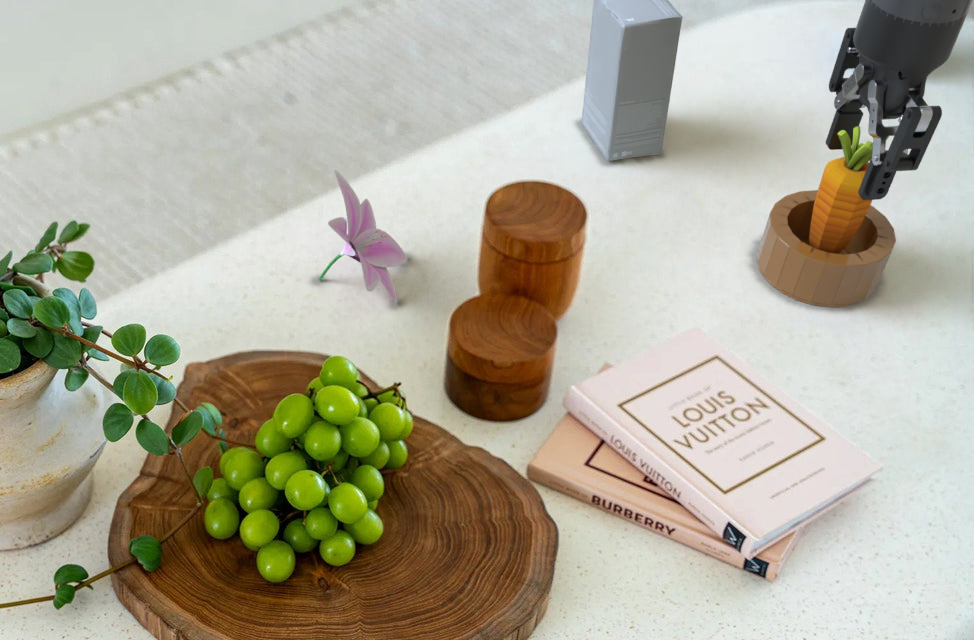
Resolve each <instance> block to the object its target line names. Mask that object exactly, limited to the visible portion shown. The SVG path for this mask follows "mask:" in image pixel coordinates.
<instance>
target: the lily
mask: <svg viewBox="0 0 974 640" xmlns="http://www.w3.org/2000/svg"><path fill="white" fill-rule="evenodd" d="M334 174H335V175H334V176H335V178H336V179H337V180H336V181H337V183H338V186H339V188H340V191H341V194H342V195H341V196H342V198H343V201H344V202H343V203H344V206H345V212H346V218H345V217H343V216H340V217H335V218H333V219H330V220H329V221H328V223H327V225H328V226H329V227H330V228H331V229H332V230H333V231H334V232H335V233H336V235H338V236H339V237H340V238H341V239H342V240H343V241H344V245H343V249H342V250H341V252H339V254H338V255H336V256H335V257H334V258H333V259H332V260H331V261H330V262H329V263H328V264H327V266H326V267H325V269H323V271H322V273H321V274H320V276H319V277H318V278H317V280H318V281H322V279H324V278H325V277H324V276H325V275H326V274H327V273H328V271H329V270H330V268H332V266H333V265H334V264H335V263H336V262H337V261H338V260H339V259H341V258H342V257H343V256H348V257H349V258H351V259H353V260H354V261H356V262H358V263H360V266H361V271H362V275H363V281H364V286H365V288H366V291H367V292H369V293H371V292H373V291H374V290H375V289H376V288H377V286H378V285H379V283H381V284H382V286H383V287H384V289H385V290H386V292H387V293H388V294H389V295H390V297H391V299H392V300H393V302H394V303H395V304H398V298H397V293H396V290H395V286H394V283H393V280H392V276H391V274H390V272H389V269H391V268H395V267H399V266H401V265H403V264H405V263H407V261H408V257H407V255H406V253H405V251H404V250H403V248H402V247H401V245H400V244H398V242H397V241H396V240H395V239H394V237H392V236H391V234H389V233H388V232H386V231H384V230H383V229H381V228H377V222H376V217H375V214H374V211H373V207H372V204H371V202H370V201H369V198H364V200H362V202H360V198H359V197H358V195H357V193H356V192H355V191H354V189H353V187H352V186H351V184H350V183H349V182H348V181H347V180H346V179H345V178H344V176H343V175H342V174H341V173H340V172H339V171H338V170H336V169H334ZM388 268H389V269H388Z"/></svg>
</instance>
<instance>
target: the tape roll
mask: <svg viewBox="0 0 974 640" xmlns="http://www.w3.org/2000/svg"><path fill="white" fill-rule="evenodd" d="M817 192H818V189H813V190H800V191H796V192H794V193H790V194H787V195H785V196H783V197H782V198H781V199H779V200H778V201H777V202H774V204H773V207H772V208H771V210H770V212H769V215H768V217H767V221H766V224H765V226H764V227H765V228H764V229H763V234H762V237H761V240H760V242H759V246H758V249H757V251H756V252H757V253H756V264H757V268H758V270H759V272H760V274H761V276H762V277H763V278H764V279H765V281H767V283H768V284H769V285H770V286H772V287H773V288H774V289H775V290H776V291H778V292H780V293H782V294H783V295H785V296H787V297H789V298H790V299H793V300H796V301H799V302H802V303H804V304H808V305H812V306H817V307H823V308H824V307H826V308H840V307H847V306H848V307H849V306H852V305H853V306H854V305H856V304H858V303H859V304H860V303H861V302H864V301H865V300H867V299H869V297H871V295H873V293H874V292H875V290H876V289H877V287H878V285H879V282H880V280H881V278H882V275H883V273H884V271H885V269H886V266H887V264H888V262H889V259H890V257H891V255H892V252H893V250H894V247H895V245H896V242H897V238H896V232H895V229H894V227H893V225H892V224H891V222H890V220H889V219H888V217H886V215H885V214H883V213H882V212H881V211H879V210H878V209H877V208H876V207H875V206H873V205H870V207H869V209H868V211H867V213H866V215H865V217H864V219H863V221H862V223H861V225H860V227H859V228H858V230H857V231H856V233H855V234H854V236H853V237H852V239H851V240H850V241H849V243H848V244H847V246H846V247H845V248H844V249H843V250H842V251H841V252H840V253H839V254H835V253H828V252H825V251H821V250H818V249H815V248H813V247H811V246H810V244H809V235H810V226H811V220H812V213H813V208H814V202H815V199H816V195H817Z"/></svg>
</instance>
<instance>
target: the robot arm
mask: <svg viewBox="0 0 974 640" xmlns="http://www.w3.org/2000/svg"><path fill="white" fill-rule="evenodd" d="M973 2H974V0H865V1H864V4H863V7H862V8H861V12H860V15H859V19H858V21H857V24H856V27H847V28H846V29H845V31H844V34H843V37H842V41H841V43H840V47H839V51H838V54H837V57H836V60H835V63H834V65H833V69H832V71H831V76H830V78H829V82H828V91H829V92H830V93H835V95H836V96H835V97H834V101H833V106H834V109H835V113H834V116H833V119H832V122H831V125H830V128H829V130H828V133H827V137H826V140H825V145H826V147H827V148H828V149H829V150H831V151H836V150H837V151H839V150H843V148H842V145H841V141H840V139H839V137H838V133H839V131H841V130H845V131H846V132H847V134H848V135H849V138H850V140H851V146H852V142H853V128H855V127H857V126H860V124H861V121H862V119H863V116H864V112H863V111H862V109H865V108H866V109H867V112H868V128H867V132H868V135H869V136H870V137H872V142H873V152H872V159H871V160H870V161H868V162H869V165H868V167H867V170H866V173H865V175H864V178H863V180H862V183H861V186H860V188H859V191H858V194H859V196H860V197H861V199H862V200H872V201H875V200H876V201H877V200H882V199H883V198H885V197H886V196H887V195H888V193H889V191H890V188H891V186H892V184H893V181H894V179H895V176H896V173H897V172H905V171H906V172H909V171H917V170H918V169H919V167H920V164H921V163H922V161H923V158H924V156H925V154H926V151H927V149H928V147H929V145H930V143H931V141H932V138H933V136H934V134H935V131H936V130H937V127H938V125H939V123H940V121H941V119H942V116H943V109H942V107H941V106H940V105H929V104H928V103H927V102H926V101H925V99H924V96H925V91H926V84H927V80H928V76H929V75H930V74H931V73H933V72H934V71H935V70H937V69H938V68H940V67H941V66H943V65H945V63H947V61H948V60H949V58H950V57H951V54H952V52H953V50H954V47H955V45H956V42H957V40H958V38H959V35H960V33H961V30H962V29H963V26H964V23H965V22H966V21H965V20H966V18H967V16H968V14H969V10H970V8H971V6H972V3H973ZM850 69H853V72H852V74H851V75H850V76H849V77H844V76H845V73H846V72H847V70H850ZM896 119H898V120H897V121H898V123H899V124H898V125H888V126H885V125H884V124H883V120H896ZM888 136H889V137H892V140H891V143H890V145H889V147H888V149H886V145H887V140H886V138H887V137H888ZM909 150H910V151H909ZM908 152H909V153H908Z"/></svg>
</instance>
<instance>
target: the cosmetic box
mask: <svg viewBox="0 0 974 640" xmlns="http://www.w3.org/2000/svg"><path fill="white" fill-rule="evenodd" d="M592 2H593V3H592V12H591V22H590V23H591V24H590V32H589V33H590V34H589V42H588V43H589V44H588V54H587V63H586V72H585V73H586V74H585V82H584V83H585V84H584V92H583V93H584V94H583V104H582V112H581V122H580V123H581V125H582V126H583V127H584V128H585V130H586V131H587V133H588V135H589V136H590V137H591V139H592V140H593V142H594V143H595V145H596V146H597V148H598V150H600V153H602V155H603V157H604V158H605V160H607V161H609V162H610V161H618V160H624V159H629V158H635V157H645V156H653V155H661V153H662V151H663V146H664V139H665V135H666V134H665V133H666V126H667V119H668V115H669V114H668V113H669V107H670V100H671V93H672V88H673V81H674V74H675V68H676V61H677V56H678V55H677V54H678V48H679V42H680V35H681V28H682V24H683V23H682V22H683V16H682V15H681V13H680V12H679V11H678V10H677V9H676V8H675V7H674V5H673V4H672V3H671V2H670V0H593V1H592Z"/></svg>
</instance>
